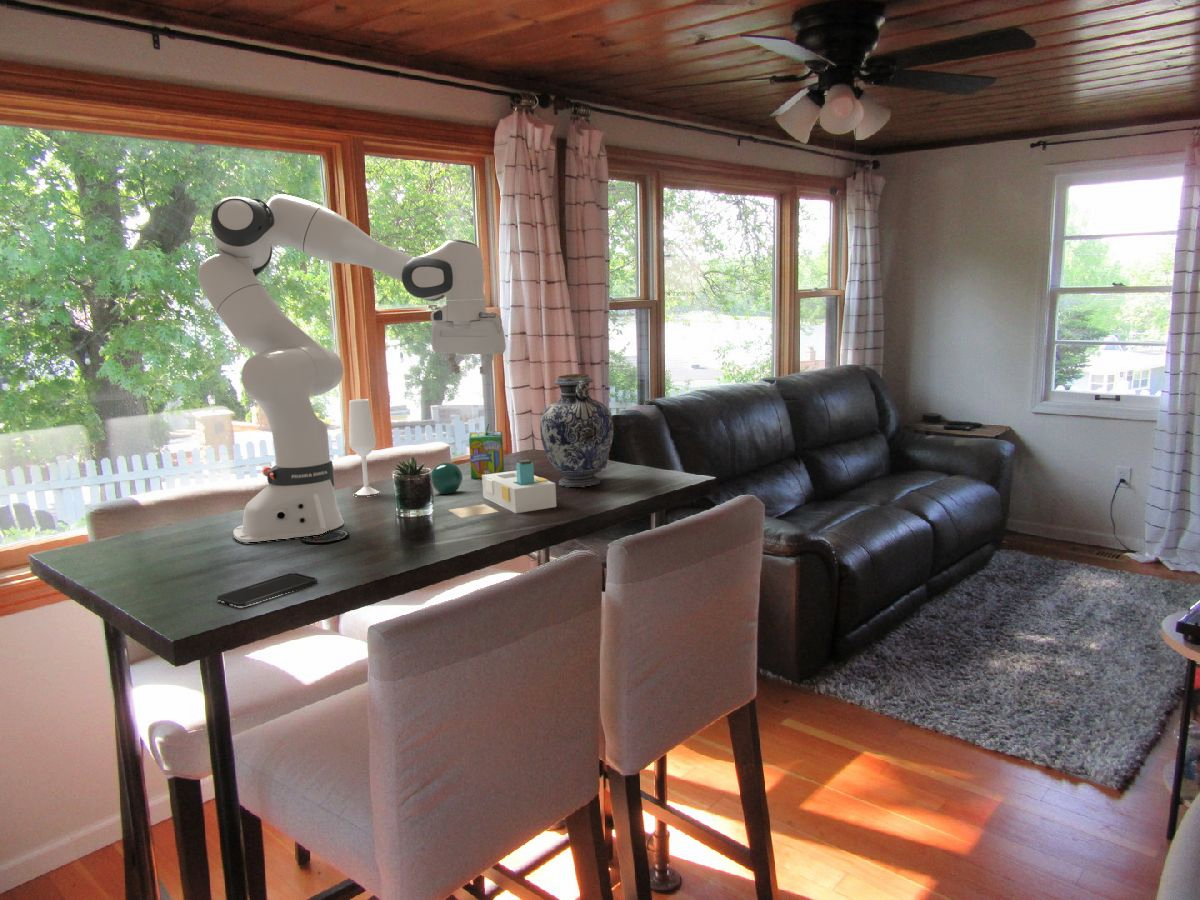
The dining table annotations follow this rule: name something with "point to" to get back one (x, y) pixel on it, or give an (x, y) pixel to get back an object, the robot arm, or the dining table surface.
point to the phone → (268, 589)
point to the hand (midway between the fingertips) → (469, 373)
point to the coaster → (473, 511)
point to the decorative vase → (577, 432)
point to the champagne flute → (362, 437)
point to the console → (518, 492)
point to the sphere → (446, 478)
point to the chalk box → (486, 453)
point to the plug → (525, 472)
